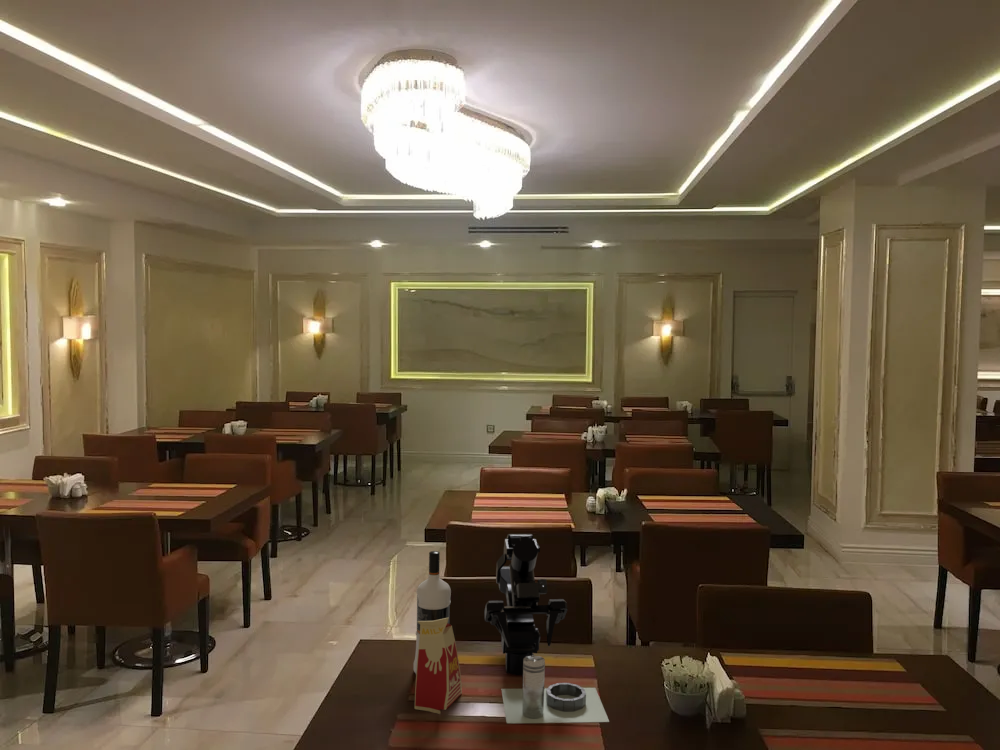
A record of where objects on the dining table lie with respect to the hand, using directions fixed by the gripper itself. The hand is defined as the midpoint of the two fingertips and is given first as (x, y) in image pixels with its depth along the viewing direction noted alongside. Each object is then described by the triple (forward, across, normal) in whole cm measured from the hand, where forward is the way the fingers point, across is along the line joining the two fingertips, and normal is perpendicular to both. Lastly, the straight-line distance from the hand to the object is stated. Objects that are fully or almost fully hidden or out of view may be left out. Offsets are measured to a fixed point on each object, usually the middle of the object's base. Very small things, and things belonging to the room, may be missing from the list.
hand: (529, 646), depth 181 cm
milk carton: (+8, -21, +11) cm, 25 cm away
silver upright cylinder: (+14, 0, +3) cm, 14 cm away
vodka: (-3, -21, +22) cm, 31 cm away
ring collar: (+10, +8, +7) cm, 15 cm away
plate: (+12, +5, +7) cm, 15 cm away
